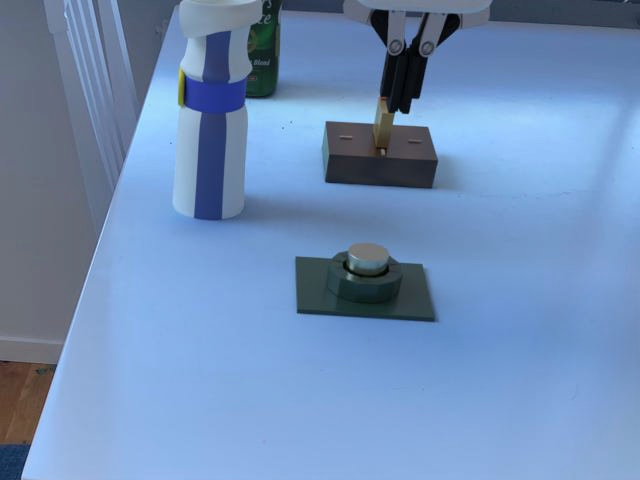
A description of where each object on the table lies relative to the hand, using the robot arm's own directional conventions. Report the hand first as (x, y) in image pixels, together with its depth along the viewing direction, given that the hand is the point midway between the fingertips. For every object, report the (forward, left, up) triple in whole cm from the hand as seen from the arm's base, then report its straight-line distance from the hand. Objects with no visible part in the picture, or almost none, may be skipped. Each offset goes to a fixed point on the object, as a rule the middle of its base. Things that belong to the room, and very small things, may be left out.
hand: (396, 107), depth 74 cm
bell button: (0, 0, -14) cm, 14 cm away
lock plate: (-4, -33, -17) cm, 37 cm away
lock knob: (-4, -33, -14) cm, 36 cm away
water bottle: (+15, -20, -17) cm, 30 cm away
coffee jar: (+12, -57, -17) cm, 61 cm away
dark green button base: (0, 0, -17) cm, 17 cm away
